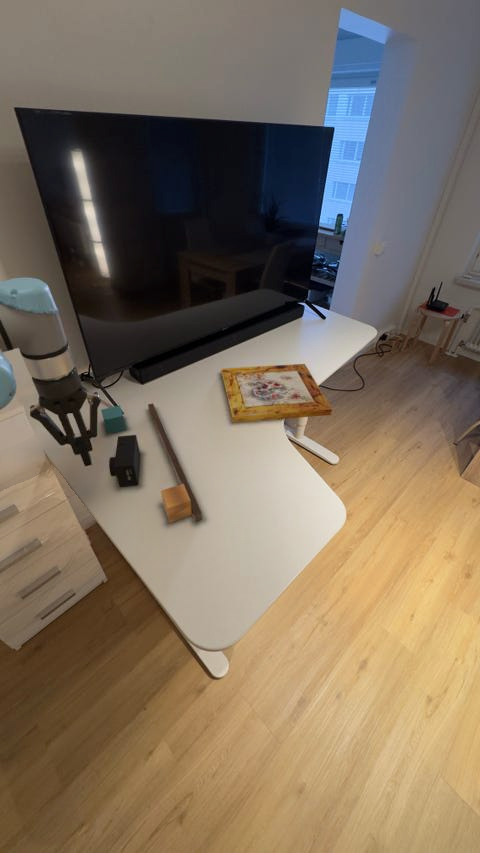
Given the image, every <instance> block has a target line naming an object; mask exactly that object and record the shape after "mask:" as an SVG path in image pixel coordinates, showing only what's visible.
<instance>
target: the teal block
mask: <svg viewBox="0 0 480 853" xmlns="http://www.w3.org/2000/svg"><path fill="white" fill-rule="evenodd" d="M100 411H101V416H102V419H103V423H104V426H105V430H106V433H107V435H110V434H114V433H119V432H123V431H126V430H127V426H126V422H125V418H124V414H123V411H122V408H121V405H116V406H111V407H107V408H102V409H101V410H100Z"/></svg>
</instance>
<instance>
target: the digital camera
mask: <svg viewBox="0 0 480 853" xmlns="http://www.w3.org/2000/svg"><path fill="white" fill-rule="evenodd" d="M140 466H141V452H140V446H139V442H138V436H137V435H136V434H131V435H119V436H117V440H116V447H115V455H114V456H110V457H109V460H108V470H109V474H110V476H111V477H116V479H117V483H118V486H119V487H120V488H125V487H135V486H139V480H140V468H141V467H140Z"/></svg>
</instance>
